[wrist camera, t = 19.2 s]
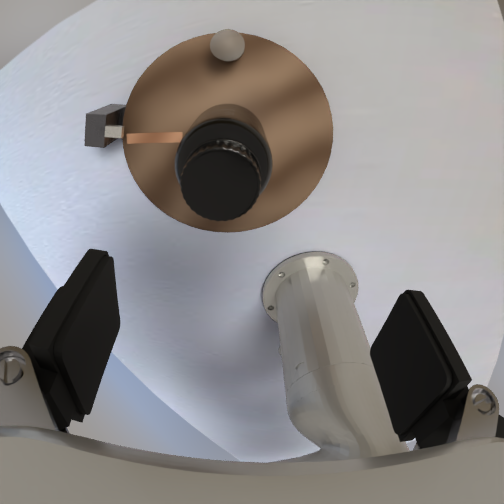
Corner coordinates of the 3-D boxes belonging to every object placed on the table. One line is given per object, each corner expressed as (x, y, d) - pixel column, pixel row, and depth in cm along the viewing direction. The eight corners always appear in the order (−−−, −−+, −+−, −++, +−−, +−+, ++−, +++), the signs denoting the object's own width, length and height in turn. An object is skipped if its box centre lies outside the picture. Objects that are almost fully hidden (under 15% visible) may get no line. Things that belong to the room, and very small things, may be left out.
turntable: (362, 156, 31) (384, 175, 26) (213, 254, 38) (208, 286, 32) (247, -4, 22) (248, -19, 17) (93, 125, 29) (65, 140, 24)
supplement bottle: (182, 161, 29) (149, 218, 19) (203, 93, 26) (177, 112, 16) (250, 182, 31) (254, 249, 21) (276, 117, 27) (296, 150, 17)
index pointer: (140, 134, 30) (120, 149, 25) (109, 131, 30) (84, 145, 25) (143, 106, 29) (123, 116, 24) (111, 104, 28) (86, 113, 23)
